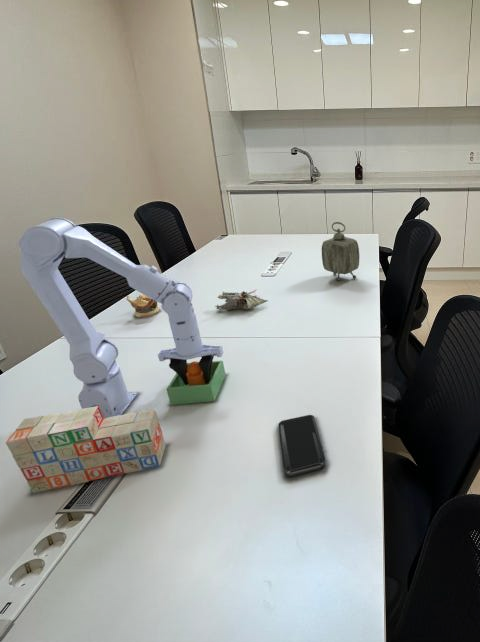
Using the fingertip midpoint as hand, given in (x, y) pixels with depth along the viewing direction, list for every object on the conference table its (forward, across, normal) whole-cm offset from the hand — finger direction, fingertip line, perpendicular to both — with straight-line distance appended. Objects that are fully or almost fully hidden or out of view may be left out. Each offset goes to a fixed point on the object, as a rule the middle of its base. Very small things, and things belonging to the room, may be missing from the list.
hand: (198, 381), depth 97 cm
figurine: (+2, -1, -51) cm, 51 cm away
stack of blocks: (+2, +11, +24) cm, 27 cm away
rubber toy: (+2, 0, 0) cm, 2 cm away
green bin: (+2, 0, 0) cm, 2 cm away
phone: (+2, -27, +23) cm, 36 cm away
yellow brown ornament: (+2, +34, -51) cm, 61 cm away
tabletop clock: (+2, -38, -76) cm, 85 cm away
